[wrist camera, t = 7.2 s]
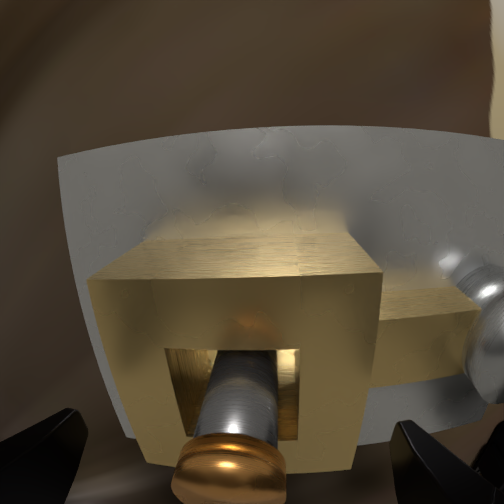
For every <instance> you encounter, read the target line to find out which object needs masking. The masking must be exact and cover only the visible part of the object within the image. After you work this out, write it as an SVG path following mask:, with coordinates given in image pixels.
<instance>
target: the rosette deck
mask: <svg viewBox="0 0 504 504" xmlns="http://www.w3.org/2000/svg"><path fill="white" fill-rule="evenodd" d="M57 159H58V172H59V183H60V192H61V201H62V209H63V216H64V223H65V229H66V236H67V241H68V247H69V253H70V258H71V263H72V268H73V273H74V277H75V282H76V286H77V291H78V295H79V299H80V303H81V307H82V311H83V315H84V318H85V322H86V326H87V329H88V333H89V336H90V339H91V343H92V346H93V349H94V352H95V356H96V359H97V362H98V365H99V368H100V371H101V374H102V377H103V379H104V382H105V385H106V388H107V390H108V393H109V396H110V398H111V401H112V404H113V406H114V409H115V411H116V414H117V416H118V418H119V421H120V423H121V426H122V428H123V430H124V433H125V435H126V437H129V438H135V439H137V442H138V444H139V446H140V449H141V451H142V453H143V455H144V457H145V460H146V462H147V463H153V464H159V465H165V466H172V467H176V465H177V462H178V458H179V455H180V452H181V449H182V447H183V446H184V445H185V444H186V443H187V442H188V441H190V440H191V439H193V436H194V432H195V429H196V425H197V422H198V418H199V415H200V411H201V407H202V404H203V400H204V397H205V393H206V390H207V386H208V382H209V379H210V375H211V372H212V368H213V365H214V361H215V358H216V354H217V351H218V350H278V450H279V452H280V453H281V454H282V455H283V457H284V459H285V462H286V474H290V473H314V472H328V471H339V470H349V469H351V467H352V463H353V459H354V455H355V451H356V447H357V445H365V444H373V443H380V442H386V441H390V439H391V436H392V433H393V430H394V427H395V424H396V423H397V422H398V421H403V420H412V421H414V422H415V423H416V424H417V425H419V426H420V427H421V428H422V429H424V430H425V431H426V432H427V433H428V434H429V433H433V432H438V431H442V430H446V429H450V428H454V427H458V426H461V425H465V424H468V423H472V422H475V421H479V420H481V419H482V417H483V414H484V412H485V410H486V408H487V405H488V403H492V404H499V403H504V140H500V139H494V138H488V137H481V136H474V135H467V134H459V133H451V132H442V131H432V130H421V129H408V128H393V127H372V126H284V127H263V128H247V129H234V130H222V131H211V132H202V133H193V134H184V135H176V136H169V137H162V138H155V139H148V140H142V141H136V142H130V143H124V144H119V145H113V146H108V147H103V148H98V149H93V150H88V151H83V152H79V153H74V154H70V155H66V156H62V157H57Z"/></svg>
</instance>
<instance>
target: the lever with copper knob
mask: <svg viewBox="0 0 504 504" xmlns="http://www.w3.org/2000/svg"><path fill="white" fill-rule="evenodd" d="M171 488H172V491H173V493H174V495H175V496H176V497H177V498H178V499H179V500H180V501H181V502H183V503H184V504H284V503H285V501H286V462H285V459H284V457H283V455H282V454H281V453H280V452H279V450H278V350H218V351H217V354H216V358H215V361H214V365H213V368H212V372H211V375H210V379H209V382H208V386H207V390H206V393H205V397H204V400H203V404H202V407H201V411H200V415H199V418H198V422H197V425H196V429H195V432H194V436H193V439H191V440H190V441H188V442H187V443H186V444H185V445H184V446H183V447H182V449H181V452H180V455H179V458H178V462H177V465H176V468H175V472H174V475H173V478H172V482H171Z"/></svg>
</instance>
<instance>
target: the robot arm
mask: <svg viewBox="0 0 504 504" xmlns="http://www.w3.org/2000/svg"><path fill="white" fill-rule="evenodd" d="M87 437H88V428H87V426H86V424H85V422H84V420H83V418H82V415H81V413H80V412H79V411H78V410H75V409H71V408H65V409H63V410H61V411H60V412H58V413H56V414H54V415H52V416H50V417H48V418H46V419H44V420H43V421H41V422H39V423H37V424H35V425H33V426H31V427H29V428H27V429H25V430H23V431H21V432H19V433H17V434H15V435H13V436H11V437H9V438H7V439H6V440H4V441H1V442H0V504H64V503H65V501H66V498H67V496H68V493H69V491H70V488H71V486H72V483H73V481H74V478H75V476H76V473H77V470H78V467H79V464H80V460H81V457H82V453H83V450H84V447H85V444H86V440H87ZM390 454H391V461H392V468H393V476H394V484H395V491H396V496H397V501H398V504H504V421H503V422H502V423H500V424H499V425H498V427H497V428H496V430H495V432H494V434H493V436H492V438H491V440H490V441H489V443H488V445H487V447H486V448H485V450H484V452H483V453H482V455H481V457H480V458H479V460H478V462H477V463H476V465H475V467H474V468H473V469H472V468H471V467H470V466H468V465H467V464H466V463H464V462H463V461H462V460H461V459H459V458H458V457H457V456H456V455H454V454H453V453H452V452H451V451H449V450H448V449H447V448H446V447H445V446H443V445H442V444H441V443H440V442H438V441H437V440H436V439H435V438H433V437H432V436H431V435H430V434H428V433H427V432H426V431H425V430H424V429H422V428H421V427H420V426H419V425H417V424H416V423H415V422H414V421H412V420H403V421H398V422H397V423H396V424H395V427H394V430H393V433H392V436H391V439H390ZM479 473H481V474H482V476H483V477H482V476H481V475H480V474H479Z"/></svg>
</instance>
